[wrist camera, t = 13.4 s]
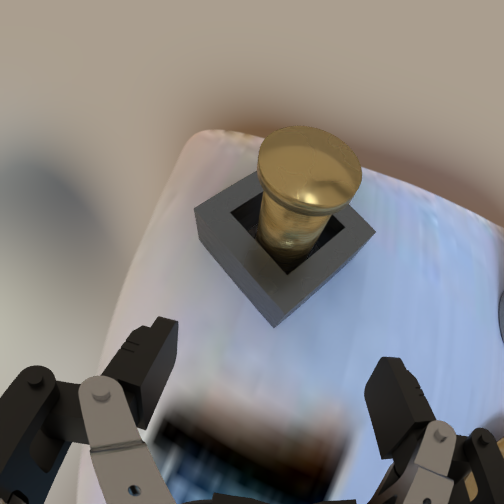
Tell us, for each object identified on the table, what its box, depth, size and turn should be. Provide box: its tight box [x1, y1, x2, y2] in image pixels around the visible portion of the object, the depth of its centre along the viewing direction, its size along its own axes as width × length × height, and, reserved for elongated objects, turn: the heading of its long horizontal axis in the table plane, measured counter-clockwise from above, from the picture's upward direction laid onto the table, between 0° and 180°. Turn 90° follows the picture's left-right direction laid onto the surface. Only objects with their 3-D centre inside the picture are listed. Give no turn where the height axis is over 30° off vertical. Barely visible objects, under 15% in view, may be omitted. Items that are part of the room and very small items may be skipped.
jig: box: [194, 171, 376, 328], centre depth 21 cm, size 9×9×4 cm
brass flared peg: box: [255, 126, 362, 275], centre depth 18 cm, size 5×5×11 cm
